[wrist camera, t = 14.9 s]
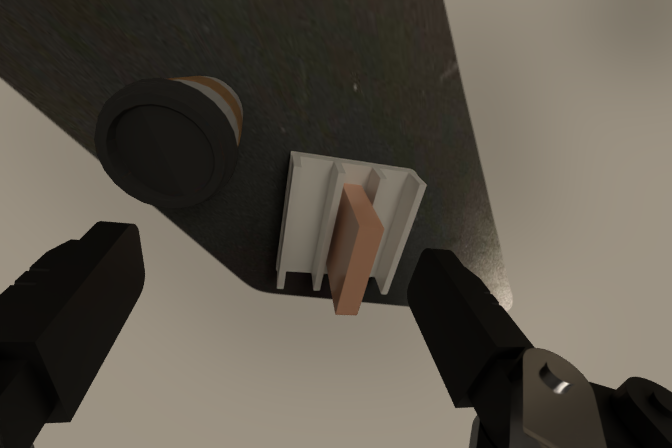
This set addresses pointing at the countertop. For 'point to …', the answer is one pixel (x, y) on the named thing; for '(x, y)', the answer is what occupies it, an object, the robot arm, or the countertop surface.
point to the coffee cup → (170, 139)
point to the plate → (352, 249)
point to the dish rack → (322, 206)
